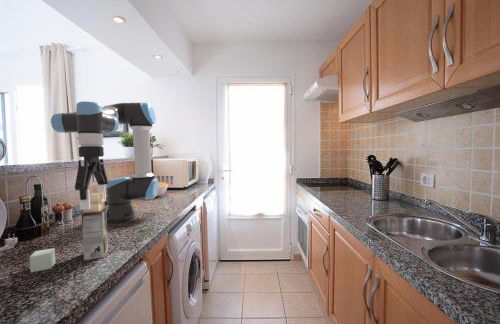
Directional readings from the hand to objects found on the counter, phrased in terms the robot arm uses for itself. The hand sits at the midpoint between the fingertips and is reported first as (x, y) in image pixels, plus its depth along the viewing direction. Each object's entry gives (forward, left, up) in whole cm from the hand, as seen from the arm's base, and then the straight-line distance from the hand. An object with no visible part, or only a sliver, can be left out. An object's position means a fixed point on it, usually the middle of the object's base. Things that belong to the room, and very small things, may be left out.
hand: (94, 205), depth 86 cm
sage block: (+7, -13, -18) cm, 23 cm away
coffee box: (0, 0, -18) cm, 18 cm away
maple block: (0, 0, -2) cm, 2 cm away
